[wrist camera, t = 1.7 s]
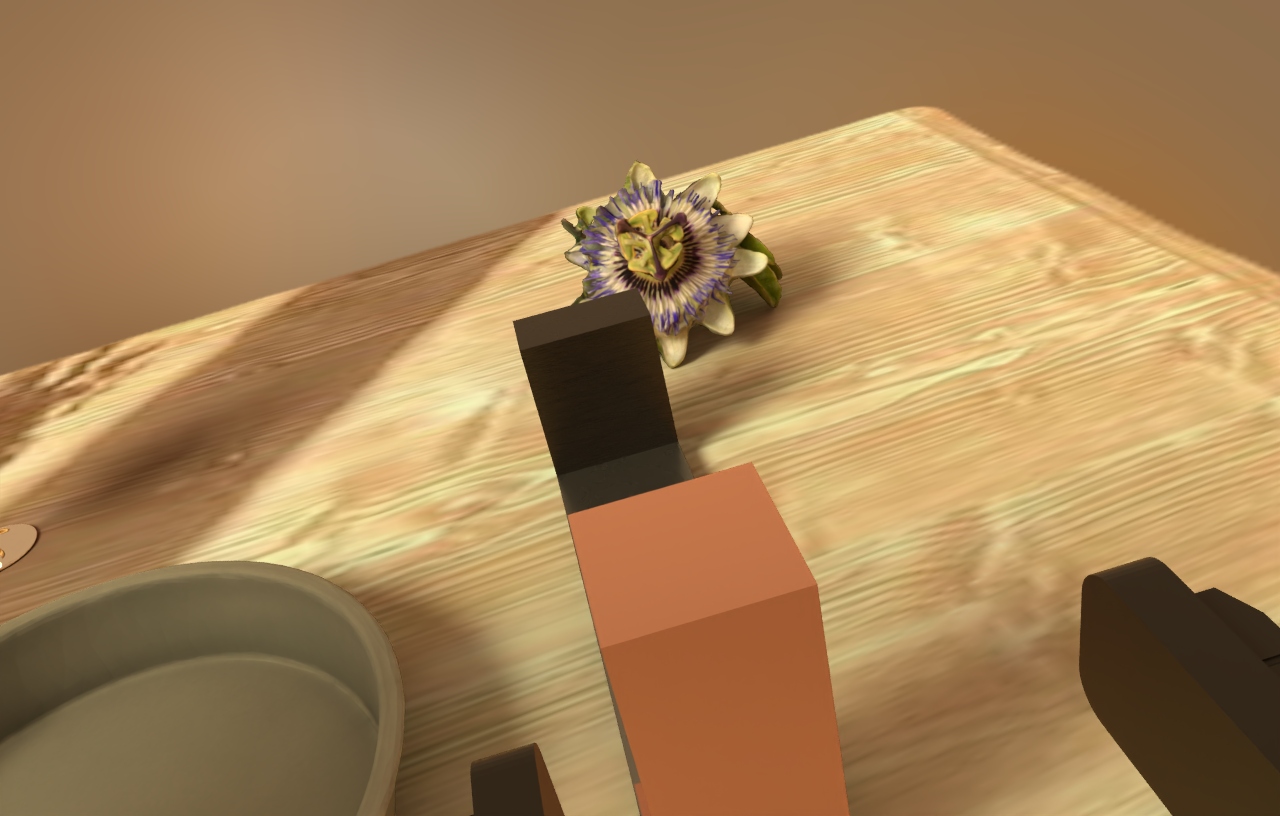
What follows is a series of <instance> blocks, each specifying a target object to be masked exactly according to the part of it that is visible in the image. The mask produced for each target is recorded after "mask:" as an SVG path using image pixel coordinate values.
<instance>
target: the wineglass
mask: <svg viewBox="0 0 1280 816" xmlns="http://www.w3.org/2000/svg"><path fill="white" fill-rule="evenodd" d="M36 539H37V530H36V529H35V528H34V527H33V526H31V525H28V524H14V525H9V526H5V527H2V528H0V571H1V570H3V569H5V568H7V567H8V566H10V565H12V564H13V563H15V562H16V561H17V560H19V559H20V558H21V557H23V556H24V555H25V554H26V553H27V552H28V551H29V550H30V549H31V547H32V546H33V545H34V543H35V541H36Z"/></svg>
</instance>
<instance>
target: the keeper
mask: <svg viewBox="0 0 1280 816" xmlns="http://www.w3.org/2000/svg"><path fill="white" fill-rule="evenodd" d="M568 519H569V523H570V527H571V531H572V535H573V539H574V543H575V547H576V552H577V556H578V560H579V564H580V568H581V572H582V576H583V580H584V584H585V588H586V592H587V596H588V600H589V604H590V608H591V612H592V616H593V620H594V624H595V629H596V633H597V637H598V641H599V645H600V649H601V652H602V655H603V659H604V662H605V665H606V669H607V672H608V675H609V679H610V682H611V685H612V688H613V692H614V695H615V698H616V702H617V705H618V708H619V712H620V715H621V718H622V721H623V725H624V728H625V731H626V735H627V738H628V741H629V745H630V748H631V751H632V755H633V758H634V761H635V764H636V768H637V771H638V774H639V778H640V781H641V783H637V784H634V785H635V789H636V793H637V797H638V802H639V806H640V810H641V814H642V816H850V814H849V807H848V800H847V793H846V786H845V778H844V771H843V764H842V757H841V750H840V743H839V736H838V729H837V721H836V714H835V707H834V700H833V693H832V686H831V679H830V672H829V664H828V657H827V650H826V643H825V636H824V629H823V622H822V615H821V607H820V600H819V593H818V586H817V583H816V581H815V579H814V577H813V575H812V574H811V572H810V570H809V568H808V566H807V564H806V562H805V560H804V559H803V557H802V555H801V553H800V551H799V549H798V547H797V546H796V544H795V542H794V540H793V538H792V536H791V534H790V533H789V531H788V529H787V527H786V525H785V523H784V521H783V520H782V518H781V516H780V514H779V512H778V510H777V508H776V506H775V505H774V503H773V501H772V499H771V497H770V495H769V493H768V492H767V490H766V488H765V486H764V484H763V482H762V480H761V479H760V477H759V475H758V473H757V471H756V469H755V467H754V466H753V464H752V462H751V463H747V464H744V465H740V466H737V467H733V468H730V469H726V470H723V471H719V472H716V473H713V474H709V475H706V476H702V477H699V478H695V479H692V480H688V481H685V482H681V483H678V484H674V485H671V486H667V487H664V488H660V489H657V490H653V491H650V492H646V493H643V494H639V495H636V496H632V497H629V498H625V499H622V500H618V501H615V502H612V503H608V504H605V505H601V506H598V507H594V508H591V509H587V510H584V511H580V512H577V513H573V514H570V515H568Z"/></svg>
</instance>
